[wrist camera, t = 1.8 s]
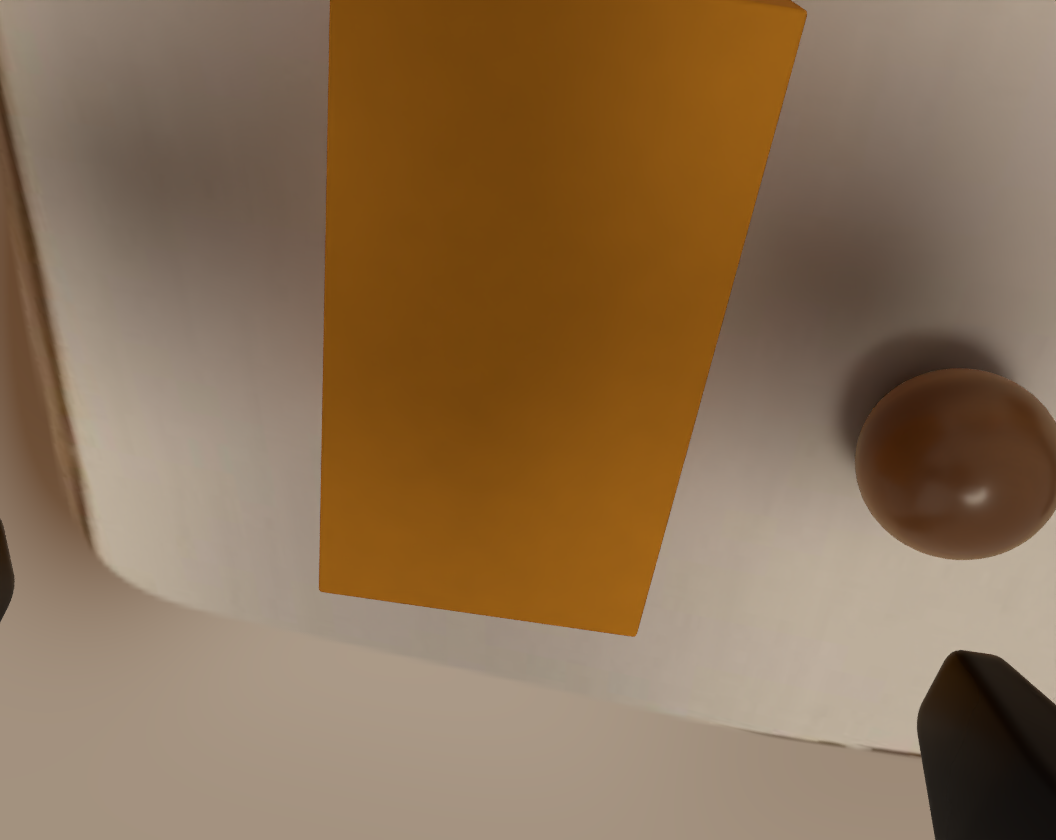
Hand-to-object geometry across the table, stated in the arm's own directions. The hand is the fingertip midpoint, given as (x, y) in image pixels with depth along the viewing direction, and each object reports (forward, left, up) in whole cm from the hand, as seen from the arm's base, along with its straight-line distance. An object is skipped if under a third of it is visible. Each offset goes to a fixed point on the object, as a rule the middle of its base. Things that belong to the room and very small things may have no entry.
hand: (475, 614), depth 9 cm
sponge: (0, 0, -10) cm, 10 cm away
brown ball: (-2, -9, -8) cm, 12 cm away
